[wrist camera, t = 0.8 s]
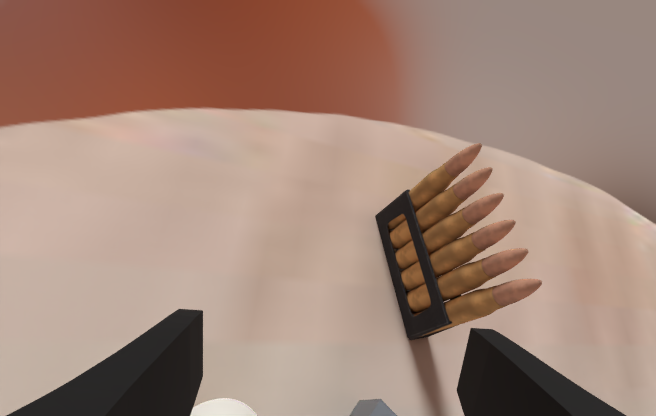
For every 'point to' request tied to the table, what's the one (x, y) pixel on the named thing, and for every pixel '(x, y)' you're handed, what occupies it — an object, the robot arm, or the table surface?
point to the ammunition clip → (447, 251)
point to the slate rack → (372, 408)
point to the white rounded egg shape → (222, 408)
